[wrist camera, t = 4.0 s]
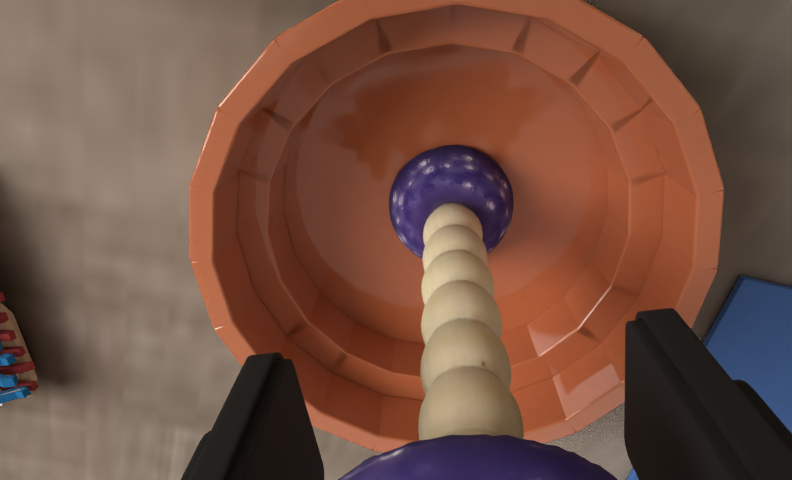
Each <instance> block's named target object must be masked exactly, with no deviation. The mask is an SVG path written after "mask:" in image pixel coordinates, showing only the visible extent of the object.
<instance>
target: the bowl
mask: <svg viewBox="0 0 792 480" xmlns="http://www.w3.org/2000/svg"><path fill="white" fill-rule="evenodd" d="M446 145H462V146H466V147H471V148H475V149H477V150H479V151H481V152H483V153H485V154H487V155H488V156H489V157H490V158H491V159H493V160H494V161H495V162H496V163H498V164H499V166H500V167H501V168H502V170H503V171H504V173H505V174H506V175H507V177H508V179H509V181H510V184H511V186H512V191H513V201H514V204H513V214H512V218H511V222H510V224H509V227H508V229H507V232H506V233H505V235H504V237H503V238H502V240H501V241H500V242H499V244H498V245H497V246H496V247H495V248H494V249H493V250H492V251H491V252H490V253H488V254H487V259H488V264H487V267H488V268H489V270H490V272H491V274H492V278H493V282H494V298H493V299H494V300H495V302H496V303H497V305H498V308H499V310H500V314H501V319H502V336H501V341H502V342H503V344H504V346H505V348H506V350H507V353H508V356H509V360H510V366H511V384H510V389H509V390H510V391H511V393H512V395H513V396H514V398H515V400H516V402H517V404H518V407H519V409H520V413H521V417H522V421H523V431H524V437H523V439H527V440H534V441H537V442H540V443H542V444H545V443H548V442H551V441H554V440H557V439H560V438H563V437H565V436H568V435H571V434H574V433H576V431H577V432H579V431H581V430H583V429H584V428H586V427H587V426H589V425H590V424H592V423H593V422H595V421H596V420H598V419H600V418H601V417H603V416H604V415H606V414H607V413H609V412H610V411H612V410H613V409H615V408H617V407H618V406H620V405H621V404H623V403H624V402H625V325H626V322H627V321H633V320H635V317H636V314H637V312H639V311H647V310H656V309H665V308H673V309H674V310H676V311H677V313H678V314H679V315H680V316H681V317H682V319H683V320H684V321H685V322H686V324H687V325H688V326H689V327H690V328H691V329H692V327H693V324H694V322H695V320H696V318H697V315H698V313H699V311H700V309H701V307H702V304H703V302H704V300H705V298H706V295H707V293H708V291H709V289H710V287H711V284H712V282H713V280H714V278H715V275H716V273H717V271H718V269H717V267H718V262H719V250H720V238H721V227H722V215H723V203H724V190H723V189H724V185H723V181H722V178H721V174H720V171H719V167H718V164H717V161H716V157H715V154H714V150H713V147H712V143H711V140H710V137H709V133H708V130H707V126H706V123H705V120H704V116H703V113H702V110H701V109H700V106H699V104H698V103H697V102H696V101H695V99H694V98H693V97H692V96H691V94H690V93H689V92H688V90H687V89H686V88H685V87H684V85H683V84H682V83H681V82H680V80H679V79H678V78H677V76H676V75H675V74H674V73H673V71H672V70H671V69H670V68H669V66H668V65H667V64H666V62H665V61H664V60H663V59H662V57H661V56H660V55H659V54H658V52H657V51H656V50H655V48H654V47H653V46H652V45H651V43H650V42H649V41H648V40H647V38H644V37H643V36H642V35H641V34H640V33H638V32H636V31H635V30H633V29H631V28H630V27H628V26H626V25H624V24H623V23H621V22H619V21H618V20H616V19H614V18H612V17H611V16H609V15H607V14H606V13H604V12H602V11H600V10H599V9H597V8H595V7H594V6H592V5H590V4H588V3H587V2H585V1H583V0H338V1H336V2H334V3H333V4H331V5H329V6H328V7H326V8H324V9H322V10H321V11H319V12H317V13H316V14H314V15H312V16H310V17H309V18H307V19H305V20H304V21H302V22H300V23H298V24H297V25H295V26H293V27H292V28H290V29H288V30H286V31H285V32H283V33H281V34H280V35H278V36H276V38H275V39H274V40H272V41H271V42H270V43H269V45H268V46H267V47H266V48H265V49H264V51H263V52H262V53H261V54H260V55H259V57H258V58H257V59H256V60H255V61H254V63H253V64H252V65H251V66H250V67H249V69H248V70H247V71H246V72H245V73H244V75H243V76H242V77H241V78H240V79H239V81H238V82H237V83H236V84H235V85H234V87H233V88H232V89H231V90H230V91H229V93H228V94H227V95H226V96H225V97H224V99H223V100H222V101H221V102H220V103H219V105H218V108H217V109H216V111H215V113H214V116H213V119H212V122H211V125H210V128H209V130H208V133H207V136H206V139H205V142H204V144H203V147H202V150H201V153H200V156H199V158H198V161H197V164H196V167H195V170H194V172H193V175H192V178H191V181H190V184H191V185H190V186H189V235H190V260H191V266H192V269H193V271H194V274H195V277H196V280H197V283H198V286H199V288H200V291H201V294H202V297H203V300H204V303H205V305H206V308H207V311H208V314H209V317H210V320H211V322H212V325H213V327H214V328H215V331H216V333H217V334H218V335H219V337H220V338H221V339H222V341H223V342H224V343H225V344H226V346H227V347H228V348H229V350H230V351H231V352H232V354H233V355H234V356H235V358H236V359H237V360H238V362H239V363H240V364H241V366H242V367H243V365H244V363H245V361H246V359H247V357H248V356H250V355H256V354H265V353H274V352H279V353H281V354H282V356H283V358H284V359H291V360H292V361H293V364H294V366H295V370H296V373H297V377H298V380H299V383H300V387H301V390H302V394H303V397H304V401H305V404H306V407H307V411H308V414H309V418H310V421H311V425H312V426H313V427H316V428H318V429H321V430H323V431H325V432H328V433H330V434H333V435H335V436H338V437H340V438H343V439H345V440H347V441H350V442H352V443H355V444H357V445H360V446H362V447H365V448H367V449H369V450H373V449H374V451H376V452H383V453H385V452H387V451H390V450H393V449H396V448H399V447H401V446H403V445H405V444H407V443H410V442H414V441H419V433H418V419H419V414H420V409H421V405H422V402H423V400H424V398H425V396H426V395H425V392H424V389H423V387H422V382H421V376H420V366H421V358H422V354H423V351H424V348H425V343H424V340H423V336H422V331H421V321H422V314H423V310H424V307H425V304H424V302H423V298H422V290H421V287H422V279H423V276H424V273H425V271H424V267H423V261H422V259H421V258H419V257H418V256H416V255H415V254H413V253H412V252H411V251H410V250H409V249H408V248H407V247H406V246H405V245H404V244H403V243H402V242H401V240H400V239H399V237H398V236H397V234H396V232H395V230H394V228H393V225H392V222H391V220H390V213H389V196H390V191H391V187H392V184H393V182H394V180H395V178H396V176H397V174H398V172H399V171H400V170H401V169H402V168H403V167H404V165H405V164H406V163H408V162H409V161H410V160H411V159H413V158H414V157H416V156H417V155H418V154H420V153H422V152H424V151H427V150H430V149H434V148H437V147H441V146H446Z"/></svg>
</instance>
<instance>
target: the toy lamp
mask: <svg viewBox="0 0 792 480" xmlns="http://www.w3.org/2000/svg"><path fill="white" fill-rule="evenodd" d="M513 204H514V201H513V191H512V186H511V184H510V181H509V179H508V177H507V175H506V174H505V173H504V171H503V170H502V168H501V167H500V166H499V164H498V163H496V162H495V161H494V160H493V159H491V158H490V157H489V156H488V155H487V154H485V153H483V152H481V151H479V150H477V149H475V148H471V147H466V146H462V145H446V146H441V147H437V148H434V149H430V150H427V151H424V152H422V153H420V154H418V155H417V156H416V157H414V158H413V159H411V160H410V161H409V162H408V163H406V164H405V165H404V167H403V168H402V169H401V170H400V171H399V172H398V174H397V176H396V178H395V180H394V182H393V184H392V187H391V191H390V196H389V213H390V220H391V222H392V225H393V228H394V230H395V232H396V234H397V236H398V237H399V239H400V240H401V242H402V243H403V244H404V245H405V246H406V247H407V248H408V249H409V250H410V251H411V252H412V253H413V254H415V255H416V256H418V257H419V258H421V259H422V261H423V267H424V271H425V273H424V276H423V279H422V287H421V290H422V298H423V302H424V304H425V307H424V310H423V314H422V321H421V331H422V336H423V340H424V343H425V348H424V351H423V354H422V358H421V366H420V376H421V382H422V387H423V389H424V392H425V395H426V396H425V398H424V400H423V402H422V405H421V409H420V414H419V419H418V433H419V441H414V442H410V443H407V444H405V445H403V446H401V447H399V448H396V449H393V450H390V451H387V452H385V453H383V454H381V455H378V456H373V457H371V458H368V459H366V460H364V461H363V462H362V463H361V464H360V465H358V466H357V467H355V468H354V469H353V470H351V471H350V472H348V473H347V474H346V475H344V476H343V477H341V478H340V479H339V480H617V479H616V478H615V477H614V476H613V475H612V474H610V473H609V472H608V471H606V470H605V469H603V468H602V467H601V466H599V465H596V464H594V463H591V462H589V461H588V460H586V459H585V458H583V457H581V456H579V455H577V454H576V453H574V452H569V451H566V450H564V449H562V448H560V447H558V446H553V445H545V444H542V443H540V442H537V441H534V440H527V439H523V437H524V431H523V421H522V417H521V413H520V409H519V407H518V404H517V402H516V400H515V398H514V396H513V395H512V393H511V391H510V390H509V389H510V384H511V366H510V360H509V356H508V353H507V350H506V348H505V346H504V344H503V342H502V341H501V336H502V319H501V314H500V310H499V308H498V305H497V303H496V302H495V300H494V299H493V298H494V282H493V278H492V274H491V272H490V270H489V268H488V267H487V264H488V259H487V254H488V253H490V252H491V251H492V250H493V249H494V248H495V247H496V246H497V245H498V244H499V242H500V241H501V240H502V238H503V237H504V235H505V233H506V232H507V229H508V227H509V224H510V222H511V218H512V214H513Z"/></svg>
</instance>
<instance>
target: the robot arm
mask: <svg viewBox="0 0 792 480" xmlns="http://www.w3.org/2000/svg"><path fill="white" fill-rule="evenodd" d="M624 437H625V445H626V450H627V453H628V456H629V459H630V461H631V464H632V466H633V468H634V470H635V472H636V475H637V477H638V479H639V480H792V433H791V432H790V431H789V430H788V429H787V427H786V426H785V425H784V424H783V423H782V422H781V420H780V419H779V418H778V417H777V416H776V414H775V413H774V412H773V411H772V410H771V409H770V407H769V406H768V405H767V404H766V403H765V402H764V400H763V399H762V398H761V397H760V396H759V395H758V393H757V392H756V391H755V390H754V389H753V388H752V387H751V386H750V385H749V384H748V383H747V382H745V381H743V380H740V379H738V380H732V379H731V378H730V376H729V375H728V374H727V373H726V371H725V370H724V369H723V368H722V366H721V365H720V364H719V363H718V362H717V360H716V359H715V358H714V357H713V355H712V354H711V353H710V352H709V351H708V349H707V348H706V347H705V346H704V344H703V343H702V342H701V341H700V340H699V338H698V337H697V336H696V335H695V333H694V332H693V331H692V330H691V328H690V327H689V326H688V325H687V324H686V322H685V321H684V320H683V319H682V317H681V316H680V315H679V314H678V313H677V311H676V310H674V309H673V308H665V309H656V310H647V311H639V312H637V314H636V317H635V320H633V321H627V322H626V325H625V423H624ZM181 480H324V467H323V462H322V459H321V455H320V452H319V449H318V445H317V442H316V438H315V435H314V431H313V428H312V425H311V421H310V418H309V414H308V411H307V407H306V404H305V401H304V397H303V394H302V390H301V387H300V383H299V380H298V377H297V373H296V370H295V366H294V364H293V361H292V360H291V359H284V358H283V356H282V354H281V353H279V352H274V353H265V354H256V355H250V356H248V357H247V359H246V361H245V363H244V365H243V367H242V369H241V371H240V373H239V375H238V377H237V379H236V381H235V383H234V385H233V387H232V389H231V391H230V393H229V395H228V397H227V399H226V401H225V403H224V405H223V408H222V410H221V412H220V414H219V416H218V418H217V420H216V422H215V424H214V426H213V428H212V430H211V431H209V432H208V433H206V434H205V435H204V436H203V438H202V439H201V441H200V443H199V445H198V447H197V449H196V451H195V453H194V455H193V457H192V458H191V460H190V462H189V464H188V466H187V468H186V470H185V472H184V474H183V476H182V478H181Z"/></svg>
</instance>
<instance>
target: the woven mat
mask: <svg viewBox="0 0 792 480" xmlns="http://www.w3.org/2000/svg"><path fill="white" fill-rule="evenodd" d="M3 300H5V298H4V296H3V294H2V292H0V341H1V342H2V344H1V342H0V406H3V403H4V402H7V401H11V400H14V399H17V398H25V397H32V396H34V392H35V390H36V389H37V388H38V385H37V375H36V372H35V369H36V368H35V363H34V362H33V361H32V359H31V357H30V354H29V352H28V349H27V347H26V344H25V342H24V339H23V337H22V334H21V332H20V329H19V327H18V324H17V322H16V319H15V317H14V314H13V313H12V312H11V311H10V310H9V309H8V308H7V307H6V306H4V305H3V304H2V303H1V302H2V301H3ZM2 345H3V347H2ZM11 374H16V375H17V377H16V375H11Z"/></svg>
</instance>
